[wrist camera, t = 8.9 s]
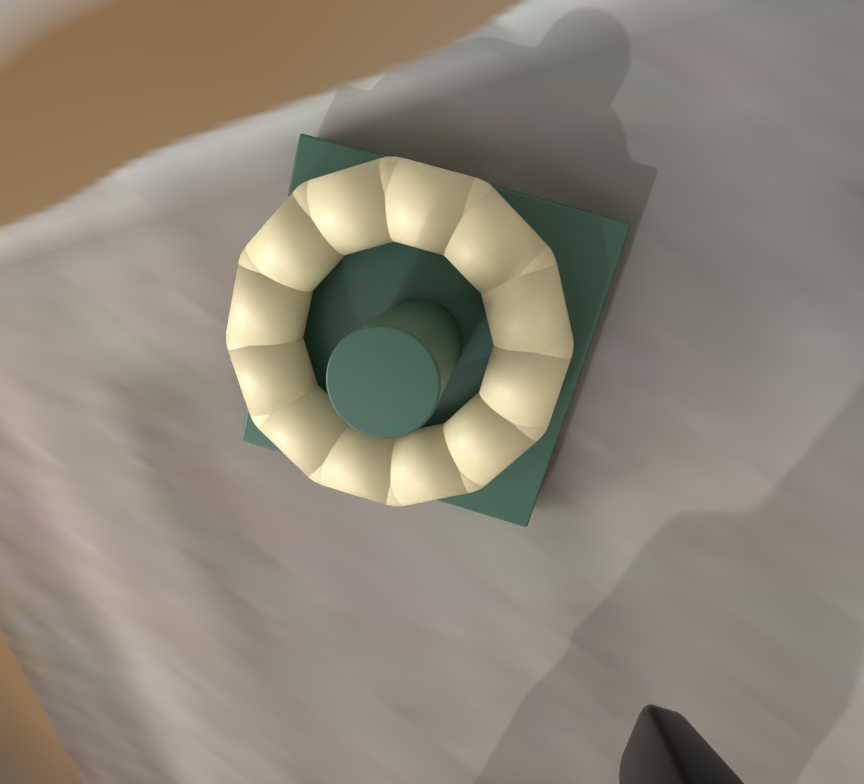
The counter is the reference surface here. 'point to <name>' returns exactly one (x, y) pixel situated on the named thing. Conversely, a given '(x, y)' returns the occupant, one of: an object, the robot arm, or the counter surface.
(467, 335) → the stand
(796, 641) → the counter surface
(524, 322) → the ring
